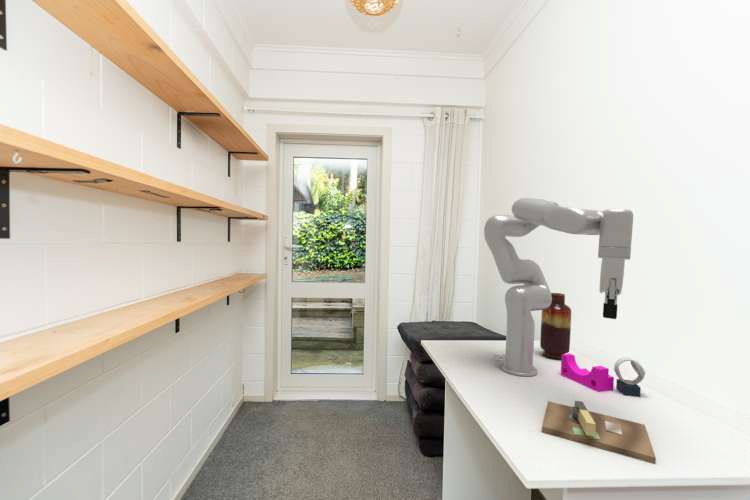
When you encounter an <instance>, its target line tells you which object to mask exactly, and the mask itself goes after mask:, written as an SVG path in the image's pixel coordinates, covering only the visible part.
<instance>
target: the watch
mask: <svg viewBox="0 0 750 500" xmlns="http://www.w3.org/2000/svg"><path fill="white" fill-rule="evenodd" d="M625 362H630V364H631V367H632V368H633V370H634V371H635V372H636V374H637V375H638V376H637V377H636V378H635V379H632V380H630V379H624V378H623V376H622V374H621V371H620V365H621V364H623V363H625ZM613 371H614V373H615V375H616V376H617V379H616V385H615V386H616V390H618V391H619V392H620V393H621V394H622V395H624V396H626V397H635V398H636V397H637V398H641V386H640V385H638V384H640V383H641V382H643V380H644V379H645V375H646V371H645V369H644V367H643V366H642V365H641V363H639V361H638V360H637V359H632V358H631V357H621V358H619V359H618V360H616V362H615V364H614V369H613Z"/></svg>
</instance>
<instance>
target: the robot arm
mask: <svg viewBox="0 0 750 500" xmlns="http://www.w3.org/2000/svg"><path fill="white" fill-rule="evenodd" d="M511 213H512V215H510V214H495V215H492V216H491V217H489V218H488V219H487V220H486V222H485V225H484V229H483V231H484V232H483V234H484V240H485V242H486V244H487V246H488V248H489V250H490V252H491V254H492V256H493V260H494V262H495V266H496V267H497V271H498V273H499V276H500V278H501V280H502V281H503V282H504V283H505V284H508V285H509V284H510V285H514V286H511V287H510V288H508V289H507V290H506V292H505V294H504V302H505V308H506V334H505V335H506V336H505V354H502V355H500V354H496V353H494V354H493V358H492V359H494V361H495V362H499V363H500V369H501V370H502V371H504V372H506V373H508V374H510V375H514V376H518V377H534V376H536V375H537V374H538V368H537V367H535V366H534V350H535V349H534V348H535V347H534V344H535V343H534V342H535V319H534V318H533V315H532V312H533V311H534V312H535V311H542V310H544V309H547V308H548V307H549V306H550V305H551V302H552V296H551V293H552V292H551V289H550V288H549V285H548V283H547V280H546V278H545V275H544V273H543V271H542V269H541V267H540V266H539V264H538V263H537V262H535V261H534V260H531V259H523V258H522V259H521V258H520V256H518V253H517V252H516V249H515V247H514V246H513V243H512V242H510V240H508V239H507V238H506V237H510V238H511V237H512V238H513V237H515V238H521V237H525V236H527V235H528V234H530V233H532V231H534V230H535V229H537V228H538V227H539V226H543V227H545V228H548V229H551V230H554V231H558V232H561V233H566V234H571V235H586V236H599V237H598V250H597V251H598V252H597V258H598V259H601V263H600V277H599V289H598V290H599V292H600V294H603V293H604V302H603V306H602V307H603V308H602V318H604V319H609V320H610V319H612V320H616V319H617V315H618V296H619V295H621V294H622V289H623V282H624V275H625V262H626V260H629V261H630V260H631V253H632V240H633V229H634V228H633V223H634V212H633V211H632V210H631V209H626V208H613V209H611V208H610V209H605V210H597V209H596V210H595V209H585V208H573V207H567V206H561V205H560V204H559V203H558V202H555V201H550V200H549V201H548V200H545V199H541V198H534V197H532V198H531V197H521V198H519V199H517V200H515V201H514V202H513V204H512V206H511Z"/></svg>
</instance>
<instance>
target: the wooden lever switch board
mask: <svg viewBox="0 0 750 500" xmlns="http://www.w3.org/2000/svg"><path fill="white" fill-rule="evenodd" d="M573 407H574V406H570V405H566V404H561V403H557V402H553V401H550V400H548V401H547V404H546V409H545V413H544V417H543V421H542V425H541V433H544V434H548V435H551V436H555V437H559V438H562V439H565V440H569V441H573V442H577V443H579V444H583V445H587V446H591V447H593V448H597V449H602V450H605V451H608V452H613V453H616V454H619V455H623V456H626V457H629V458H633V459H637V460H640V461H645V462H646V463H651V464H656V463H657V462H656V460H657V458H656V455H655V452H654V448H653V445H652V442H651V440H650V439H651V438H650V437H649V433H648V430H647V427H646V425H645V424H644V423H639V422H636V421H632V420H628V419H623V418H619V417H616V416H615V417H614V416H610V415H607V414H603V413H599V412H594V411H591V410H588V411H589V414H590V415H591V417H592V419H593V420H594V422H595V424H596V429H595V437H594V436H588V435H586V434H585V432H584V430H583V428H582V426H581V424H580V422H579V421H576V420H574V419H573V418H572V412H573Z"/></svg>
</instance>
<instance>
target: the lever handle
mask: <svg viewBox="0 0 750 500" xmlns="http://www.w3.org/2000/svg"><path fill="white" fill-rule="evenodd" d="M572 407H573V412H572V418H573V419H574V420H576V421H579V422H580V424H581V426H582V428H583V430H584V432H585V434H586V435H588V436H594V437H595V429H596V424H595V422H594V420H593V419H592V417H591V415H590V414H589V411H590V410H588V408H587V407H586V405H585V403H584V402H583V401H579V400H574V406H572Z"/></svg>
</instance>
